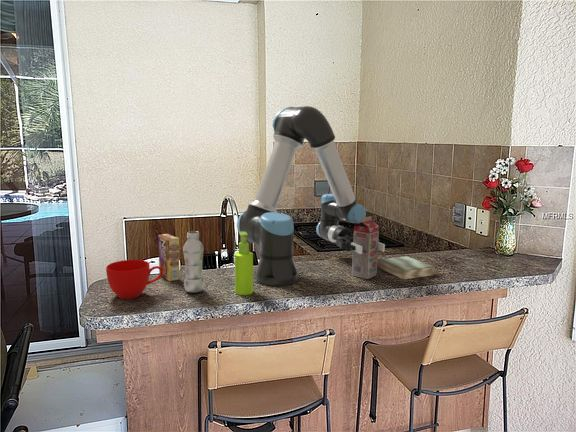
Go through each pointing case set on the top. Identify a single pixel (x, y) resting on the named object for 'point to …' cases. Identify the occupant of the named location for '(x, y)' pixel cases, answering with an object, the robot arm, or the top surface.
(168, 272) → the candy box
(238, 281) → the soap dispenser
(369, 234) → the juice carton
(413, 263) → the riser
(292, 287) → the top surface
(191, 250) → the plastic bottle
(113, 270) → the ceramic cup
